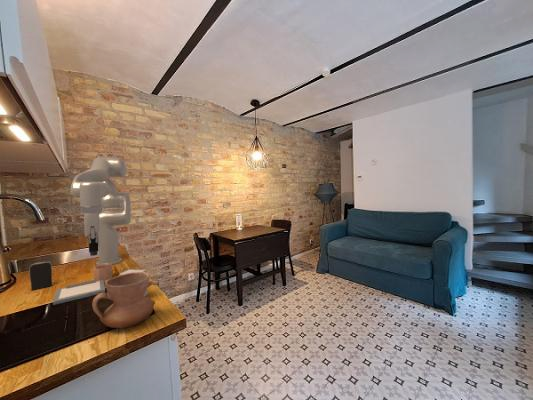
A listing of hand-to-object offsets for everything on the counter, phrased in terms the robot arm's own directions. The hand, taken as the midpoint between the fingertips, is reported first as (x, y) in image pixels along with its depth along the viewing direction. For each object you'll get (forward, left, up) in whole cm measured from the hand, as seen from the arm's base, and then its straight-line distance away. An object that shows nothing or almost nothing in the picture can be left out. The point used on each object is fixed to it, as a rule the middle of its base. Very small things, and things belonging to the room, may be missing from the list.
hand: (93, 250), depth 101 cm
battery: (-14, -19, -17) cm, 29 cm away
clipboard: (+4, -5, -16) cm, 18 cm away
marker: (0, 0, -2) cm, 2 cm away
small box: (+24, +12, -17) cm, 32 cm away
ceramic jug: (+41, +8, -17) cm, 45 cm away
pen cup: (-8, +3, -16) cm, 18 cm away
